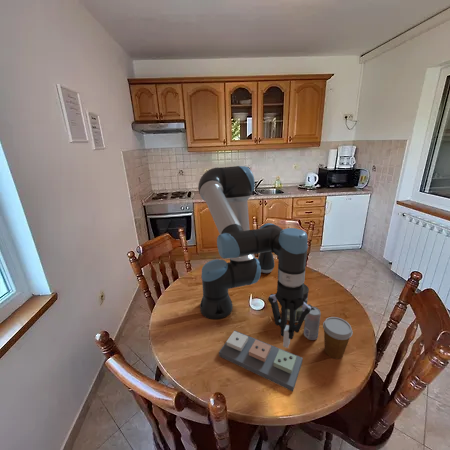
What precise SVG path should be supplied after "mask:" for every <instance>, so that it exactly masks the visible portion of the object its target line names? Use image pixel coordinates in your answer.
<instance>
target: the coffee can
mask: <svg viewBox="0 0 450 450" xmlns="http://www.w3.org/2000/svg"><path fill="white" fill-rule="evenodd" d="M309 292H310V289H309V286H308V285H307V284H305V283H304V291H303V298H304V300H305V301H304V302H305V303H306V304H307V305H308V299H309ZM302 312H303V311H302V306H301V307H299V308H298V309H297V310H296V317H295V323H298V321H299V319H300V316H301V314H302ZM289 319H290V310H289V309H288V310H287V321H289ZM304 321H305V319H304Z"/></svg>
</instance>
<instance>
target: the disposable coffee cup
mask: <svg viewBox="0 0 450 450" xmlns="http://www.w3.org/2000/svg"><path fill="white" fill-rule="evenodd" d="M322 329H323V334H324V335H323V337H324V339H323V343H324V344H323V345H324V352H325V354H326V355H328V357H330V358H332V359H336V360H339V359H342V358H343V356H344V354H345V352H346V349H347V346H348V343H349V341H350V339H351V337H352V336H353V334H354V333H353V329H352V326H351V324H350V323H349V322H348V321H347V320H346V319H345V320H344V318H340V317H337V316H330V317H327V318H325V320H324V321H323V323H322Z"/></svg>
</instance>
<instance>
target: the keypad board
mask: <svg viewBox="0 0 450 450" xmlns="http://www.w3.org/2000/svg"><path fill="white" fill-rule="evenodd" d="M234 331H236V332H238V333H241V334H243V335H245V336H248V341H247V343H246V344H245V346H244V348H243V349H242V351H239V350H236V349H234V348H232V347H230V346H227V345H226V342H225V343H224V344H223V345H222V347H221V348H220V349H219V351H218V356H219V357H220V358H222V359H224V360H226V361H228V362H230V363H232V364H233V365H237V366H239V367H241V368H243V369H244V370H247V371H248V372H250V373H253V374H255V375H258V376H260V377H261V378H264V379H265V380H268V381H269V382H272V383H274V384H276V385H278V386H280V387H283V388H284V389H285V390H289V391H290V392H294V390H295V386H296V383H297V380H298V378H299V377H298V376H299V374H300V371H301V368H302V364H303V357H302V356H299V355H298V354H294V353H291V352H290V351H287V350H284V349H282V348H279V347H276V346H275V345H271V344H269V343H268V342H264V341H262V340H259V339H257V338H254V337H252V336H249V335H247V334H244V333H242V332H241V331H240V332H239V331H237V330H233V332H234ZM231 335H232V333H231V334H230V336H231ZM255 340H258V341H260V342H263V343H265V344H268V345H270V346H271V351H270V353H269V355H268V357H267V359H266V361H265V362H263V361H261V360H259V359H257V358H254V357H252V356H250V355H249V350H250V348H251V347H252V345H253V343H254V342H255ZM279 349H280V350H282V351H285V352H287V353H290V354H292V355H295V356H297V358H296V362H295V365H294V368H293V371H292V374H290V373H288V372H286V371H283V370H281V369H279V368H277V367H274V366H273V364H274V360H275V358H276V356H277V354H278V351H279Z"/></svg>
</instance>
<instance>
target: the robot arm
mask: <svg viewBox="0 0 450 450" xmlns="http://www.w3.org/2000/svg"><path fill="white" fill-rule="evenodd" d="M255 182H256V181H255V176H254V174H253V172H252V170H251V169H250V168H249V166H245V165H236V166H234V165H233V166H222V167H221V166H220V167H219V166H218V167H213V168H210V169H208V170H206V172H204V173H203V174H202V176H201V177H200V178H199V182H198V185H197V187H198V194H199V196H200V198H201V199H202V201H205V204H206V205H207V208H208V210H209V212H210V215H211V217H212V220H213V222H214V224H215V226H216V229H217V231H218V235H217V238H216V246H217V250H218V254H219V256H220V257H221V258H222V259H220V258H219V259H218V258H217V259H212V260H209V261H207V262H206V263H205V264H204V265H203V266H202V268H201V276H200V277H201V283H202V297H201V301H200V304H199V305H200V306H199V308H200V313H201V315H202V316H203V317H205V318H207V319H210V320H221V319H224V318H226V317H228V316H229V315H230V314H231V313H232V312H233V301H232V299H231V297H230V294H229V290H230V289H235V288H241V287H244V286H251V285H253V284H256V283H258V282H259V280H260V278H261V273H262V272H261V267H260V263H259V261H258V258H256V257H255V255H257V254H258V255H259V254H260V253H264V252H269V251H272V254H273V255H276V256H277V258H278V261H277V263H278V264H277V284H276V285H277V287H276V293H275V294H274V293H271V294H270V295H269V296H268V298H267V300H268V302H269V304H270V306H271V310H272V316H273V320H274V324H275V326H279V327H280V336H281V337H283V338H282V339H283V343H282V347H283V348H286V349H289V346H290V343H291V340H293V339H294V335H295V333H299V332H300V330H301V328H302V325H303V323H304V322H305V320H304V319H305V316H306V315H307V314H308V313H310V310H311V308H312V305H311V304H308V303H307V304H306V303H305V302H304V301H305V300H304V298H303V291H304V284H305V277H306V276H305V275H306V265H307V254H308V249H309V245H308V244H309V243H308V234H307V231H305V230H303V229H299V228H296V227H295V228H293V227H287V228H282V227H280V226H279V225H276V224H274V223H271V222H267V223H264V224H263V225H261V226H260V227H259V228H256V229H250V220H249V219H250V217H249V204H248V201H249V199H250V198H251V193H252V192H254V191H255V186H256V183H255ZM225 259H226V260H227V259H229V262H227V261H226V260H225ZM279 304H280V307H279ZM301 306H302V311H303V312H302V314H301V316H300V319H299V321H298V322H295V317H296V310H297V309H298V308H299V307H301ZM280 308H281V309H280ZM288 309H289V310H290V319H289V320H287V310H288ZM280 310H281V313H280ZM288 321H289V322H288ZM287 323H288V324H287Z"/></svg>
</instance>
